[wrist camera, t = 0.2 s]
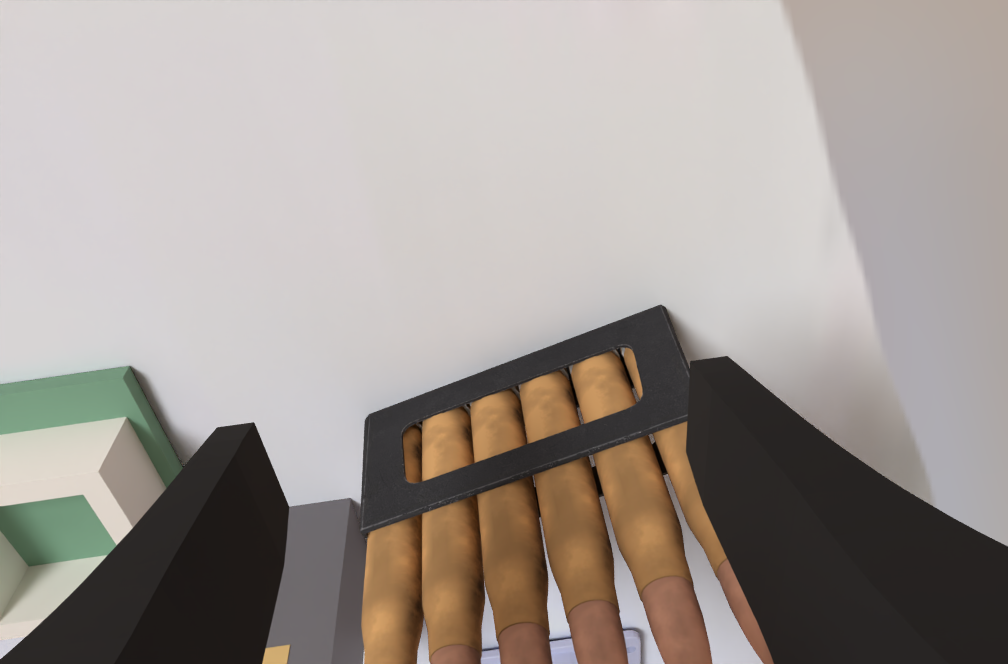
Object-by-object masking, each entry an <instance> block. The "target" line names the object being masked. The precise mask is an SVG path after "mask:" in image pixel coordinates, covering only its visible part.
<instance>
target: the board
mask: <svg viewBox="0 0 1008 664" xmlns="http://www.w3.org/2000/svg"><path fill="white" fill-rule="evenodd" d="M182 469H183V467H182V465H181V463H180V461H179V460H178V458H177V456H176V454H175V452H174V450H173V448H172V446H171V444H170V442H169V441H168V439H167V437H166V435H165V433H164V431H163V429H162V427H161V425H160V423H159V422H158V420H157V418H156V416H155V414H154V412H153V410H152V408H151V406H150V404H149V403H148V401H147V399H146V397H145V395H144V393H143V391H142V389H141V387H140V386H139V384H138V382H137V380H136V378H135V376H134V374H133V372H132V370H131V368H130V367H129V366H126V367H119V368H112V369H105V370H98V371H91V372H84V373H77V374H70V375H63V376H56V377H49V378H42V379H35V380H28V381H21V382H14V383H7V384H0V640H5V639H12V638H19V637H26V636H27V635H28V634H29V633H31V632H32V631H33V630H34V629H35V628H36V627H37V626H38V625H39V624H40V623H41V622H42V621H43V620H44V619H46V618H47V617H48V616H49V615H50V614H51V613H52V612H53V611H54V610H55V609H56V608H57V607H58V606H59V605H60V604H61V603H62V602H63V601H64V600H65V599H66V598H67V597H68V596H69V595H70V594H71V593H72V592H73V591H74V590H75V589H76V588H77V587H78V586H79V585H80V584H81V583H82V582H83V581H84V580H85V579H86V578H87V577H88V576H89V575H90V574H91V573H92V572H93V570H94V569H95V568H96V567H97V566H98V565H99V564H100V563H101V562H102V561H103V560H104V559H105V557H106V556H107V555H108V554H109V553H110V552H111V551H112V550H113V549H114V548H115V547H116V546H117V544H118V543H119V542H120V541H121V540H122V539H123V538H124V537H125V536H126V535H127V534H128V533H129V531H130V530H131V529H132V528H133V527H134V526H135V525H136V524H137V522H138V521H139V520H140V519H141V518H142V517H143V515H144V514H145V513H146V512H147V511H148V509H149V508H150V507H151V506H152V505H153V504H154V502H155V501H156V500H157V499H158V498H159V497H160V495H161V494H162V493H163V492H164V491H165V489H166V488H167V487H168V486H169V485H170V483H171V482H172V481H173V480H174V479H175V477H176V476H177V475H178V474H179V473H180V471H181V470H182Z"/></svg>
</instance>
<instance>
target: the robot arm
mask: <svg viewBox="0 0 1008 664" xmlns="http://www.w3.org/2000/svg"><path fill="white" fill-rule="evenodd" d="M686 454H687V457H688V460H689V464H690V467H691V470H692V473H693V477H694V480H695V483H696V486H697V489H698V492H699V495H700V498H701V501H702V504H703V507H704V509H705V511H706V513H707V516H708V518H709V520H710V522H711V524H712V527H713V529H714V531H715V533H716V535H717V537H718V540H719V542H720V544H721V546H722V548H723V550H724V553H725V555H726V557H727V559H728V561H729V563H730V565H731V568H732V570H733V572H734V574H735V576H736V578H737V580H738V582H739V585H740V587H741V589H742V591H743V593H744V595H745V597H746V600H747V602H748V604H749V606H750V608H751V610H752V612H753V615H754V617H755V619H756V621H757V623H758V625H759V628H760V630H761V633H762V635H763V637H764V640H765V642H766V645H767V647H768V649H769V652H770V654H771V657H772V660H773V663H774V664H1008V546H1005V545H1004V544H1001V543H1000V542H998V541H995V540H994V539H992V538H990V537H988V536H986V535H984V534H982V533H980V532H978V531H976V530H974V529H972V528H970V527H969V526H967V525H965V524H963V523H961V522H959V521H958V520H956V519H954V518H952V517H950V516H948V515H947V514H945V513H943V512H942V511H940V510H938V509H937V508H935V507H933V506H932V505H930V504H928V503H926V502H925V501H923V500H921V499H920V498H918V497H916V496H915V495H913V494H911V493H910V492H908V491H906V490H904V489H903V488H901V487H900V486H898V485H897V484H895V483H893V482H892V481H890V480H889V479H887V478H886V477H884V476H882V475H881V474H879V473H878V472H877V471H875V470H874V469H872V468H871V467H869V466H868V465H866V464H865V463H863V462H862V461H861V460H859V459H858V458H856V457H855V456H853V455H852V454H850V453H849V452H847V451H846V450H845V449H843V448H842V447H840V446H839V445H838V444H836V443H835V442H834V441H832V440H831V439H830V438H828V437H827V436H826V435H824V434H823V433H822V432H820V431H819V430H818V429H816V428H815V427H814V426H813V425H811V424H810V423H809V422H807V421H806V420H805V419H803V418H802V417H801V416H800V415H798V414H797V413H796V412H795V411H793V410H792V409H791V408H790V407H788V406H787V405H786V404H785V403H783V402H782V401H781V400H780V399H779V398H777V397H776V396H775V395H774V394H772V393H771V392H770V391H769V390H768V389H766V388H765V387H764V386H763V385H762V384H760V383H759V382H758V381H757V380H756V379H754V378H753V377H752V376H751V375H750V374H748V373H747V372H746V371H745V370H744V369H742V368H741V367H740V366H739V365H738V364H736V363H735V362H734V361H733V360H731V359H730V358H729V357H728V356H725V357H717V358H710V359H703V360H696V361H690V380H689V399H688V418H687V437H686ZM288 518H289V506H288V503H287V501H286V498H285V496H284V493H283V491H282V489H281V486H280V484H279V481H278V479H277V476H276V474H275V472H274V469H273V467H272V464H271V462H270V460H269V457H268V455H267V452H266V450H265V447H264V445H263V443H262V440H261V438H260V435H259V433H258V431H257V428H256V426H255V423H254V422H253V423H246V424H239V425H232V426H225V427H218V428H216V429H215V431H214V432H213V433H212V434H211V435H210V436H209V437H208V439H207V440H206V441H205V442H204V443H203V445H202V446H201V447H200V448H199V449H198V451H197V452H196V453H195V454H194V455H193V457H192V458H191V459H190V460H189V462H188V463H187V464H186V465H185V466H184V468H183V469H182V470H181V471H180V473H179V474H178V475H177V476H176V477H175V479H174V480H173V481H172V482H171V483H170V485H169V486H168V487H167V488H166V489H165V491H164V492H163V493H162V494H161V495H160V497H159V498H158V499H157V500H156V501H155V502H154V504H153V505H152V506H151V507H150V508H149V509H148V511H147V512H146V513H145V514H144V515H143V517H142V518H141V519H140V520H139V521H138V522H137V524H136V525H135V526H134V527H133V528H132V529H131V530H130V531H129V533H128V534H127V535H126V536H125V537H124V538H123V539H122V540H121V541H120V542H119V543H118V544H117V546H116V547H115V548H114V549H113V550H112V551H111V552H110V553H109V554H108V555H107V556H106V557H105V559H104V560H103V561H102V562H101V563H100V564H99V565H98V566H97V567H96V568H95V569H94V570H93V572H92V573H91V574H90V575H89V576H88V577H87V578H86V579H85V580H84V581H83V582H82V583H81V584H80V585H79V586H78V587H77V588H76V589H75V590H74V591H73V592H72V593H71V594H70V595H69V596H68V597H67V598H66V599H65V600H64V601H63V602H62V603H61V604H60V605H59V606H58V607H57V608H56V609H55V610H54V611H53V612H52V613H51V614H50V615H49V616H48V617H47V618H46V619H44V620H43V621H42V622H41V623H40V624H39V625H38V626H37V627H36V628H35V629H34V630H33V631H32V632H31V633H29V634H28V635H27V636H26V637H25V638H24V639H23V640H22V641H21V642H20V643H19V644H17V645H16V646H15V647H14V648H13V649H12V650H11V651H10V652H8V653H7V654H6V655H5V656H4V657H3V658H1V659H0V664H262V663H263V658H264V654H265V649H266V645H267V641H268V636H269V632H270V628H271V623H272V619H273V614H274V610H275V605H276V601H277V596H278V592H279V587H280V583H281V578H282V573H283V568H284V562H285V553H286V543H287V531H288ZM623 633H624V638H625V643H626V649H627V656H628V664H641V640H640V637H639V633H638V632H636V631H634V630H626V631H623ZM550 648H551V656H552V664H578V662H577V659H576V655H575V651H574V647H573V642H572V638H571V639H564V640H557V641H551V642H550ZM481 664H501V663H500V653H499V649H496V650H489V651H482V657H481Z"/></svg>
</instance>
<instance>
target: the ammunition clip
mask: <svg viewBox="0 0 1008 664" xmlns="http://www.w3.org/2000/svg"><path fill="white" fill-rule="evenodd" d="M689 380H690V368H689V366H688V363H687V361H686V358H685V356H684V353H683V351H682V348H681V346H680V343H679V341H678V338H677V336H676V333H675V331H674V328H673V326H672V323H671V321H670V318H669V316H668V313H667V311H666V308H665V307H664V306H662V305H658V306H656V307H653V308H650V309H648V310H645V311H642V312H640V313H637V314H634V315H632V316H629V317H626V318H624V319H621V320H618V321H616V322H613V323H610V324H608V325H605V326H602V327H600V328H597V329H594V330H592V331H589V332H587V333H584V334H581V335H579V336H576V337H573V338H571V339H568V340H565V341H563V342H560V343H557V344H555V345H552V346H549V347H547V348H544V349H541V350H539V351H536V352H533V353H531V354H528V355H525V356H523V357H520V358H517V359H515V360H512V361H509V362H507V363H504V364H501V365H499V366H496V367H493V368H491V369H488V370H486V371H483V372H480V373H478V374H475V375H472V376H470V377H467V378H464V379H462V380H459V381H456V382H454V383H451V384H448V385H446V386H443V387H440V388H438V389H435V390H432V391H430V392H427V393H424V394H422V395H419V396H416V397H414V398H411V399H408V400H406V401H403V402H400V403H398V404H395V405H392V406H390V407H387V408H385V409H382V410H379V411H377V412H374V413H371V414H369V415H368V417H367V418H366V420H365V428H364V450H363V472H362V494H361V517H360V533H361V534H362V536H363V537H364V538H368V540H367V553H366V566H365V579H364V591H363V604H362V622H361V627H362V636H363V644H364V651H365V661H364V664H417V650H418V646H419V642H420V637H421V632H422V627H423V618H424V617H425V621H426V626H427V630H428V644H429V661H430V663H431V664H481V657H482V633H481V626H482V619H483V612H484V605H485V587H486V590H487V594H488V597H489V600H490V604H491V607H492V610H493V615H494V623H495V630H496V638H497V641H498V644H499V653H500V663H501V664H552V656H551V648H550V641H549V635H550V630H549V621H548V611H547V597H548V571H547V565H546V558H545V552H544V546H543V539H542V533H541V527H540V520H539V517H541V519H542V525H543V531H544V537H545V542H546V548H547V554H548V559H549V563H550V567H551V571H552V573H553V576H554V579H555V581H556V583H557V586H558V588H559V591H560V593H561V597H562V601H563V606H564V610H565V614H566V618H567V622H568V624H569V627H570V632H571V638H572V642H573V647H574V651H575V655H576V659H577V662H578V664H628V656H627V649H626V643H625V638H624V633H623V629H622V624H621V620H620V616H619V613H620V610H619V605H618V600H617V595H616V590H615V585H614V558H613V553H612V548H611V543H610V539H609V535H608V531H607V527H606V523H605V519H604V515H603V511H602V507H601V503H600V499H599V497H601V496H604V497H605V501H606V505H607V508H608V512H609V516H610V519H611V523H612V526H613V530H614V534H615V537H616V541H617V544H618V547H619V550H620V552H621V554H622V556H623V558H624V560H625V562H626V563H627V565H628V567H629V569H630V571H631V573H632V576H633V579H634V582H635V585H636V588H637V591H638V594H639V597H640V600H641V601H642V602H643V605H644V608H645V612H646V615H647V618H648V622H649V625H650V628H651V631H652V634H653V636H654V639H655V641H656V644H657V646H658V649H659V651H660V654H661V656H662V659H663V661H664V663H665V664H712V658H711V651H710V645H709V641H708V636H707V632H706V627H705V623H704V619H703V615H702V612H701V609H700V606H699V603H698V600H697V597H696V594H695V591H694V585H693V580H692V577H691V574H690V570H689V567H688V564H687V561H686V557H685V551H684V543H683V535H682V529H681V525H680V522H679V519H678V516H677V513H676V511H675V508H674V505H673V502H672V500H671V497H670V494H669V491H668V488H667V486H666V483H665V480H664V477H663V475H666V474H668V475H669V478H670V480H671V483H672V486H673V488H674V491H675V493H676V496H677V498H678V501H679V504H680V506H681V509H682V511H683V514H684V517H685V519H686V522H687V524H688V526H689V528H690V529H691V531H692V533H693V534H694V536H695V537H696V539H697V540H698V542H699V543H700V545H701V546H702V548H703V549H704V551H705V553H706V555H707V558H708V560H709V562H710V564H711V567H712V569H713V571H714V573H715V575H716V577H717V578H718V580H719V581H720V584H721V586H722V589H723V591H724V594H725V596H726V598H727V601H728V603H729V606H730V608H731V610H732V612H733V614H734V616H735V618H736V619H737V621H738V623H739V625H740V627H741V629H742V631H743V633H744V634H745V636H746V638H747V639H748V641H749V643H750V644H751V646H752V647H753V649H754V650H755V652H756V654H757V655H758V656H759V658H760V659H761V660H762V662H763V663H764V664H774V663H773V660H772V657H771V654H770V652H769V649H768V647H767V645H766V642H765V640H764V637H763V635H762V633H761V630H760V628H759V625H758V623H757V621H756V619H755V617H754V615H753V612H752V610H751V608H750V606H749V604H748V602H747V600H746V597H745V595H744V593H743V591H742V589H741V587H740V585H739V582H738V580H737V578H736V576H735V574H734V572H733V570H732V568H731V565H730V563H729V561H728V559H727V557H726V555H725V553H724V550H723V548H722V546H721V544H720V542H719V540H718V537H717V535H716V533H715V531H714V529H713V527H712V524H711V522H710V520H709V518H708V516H707V513H706V511H705V509H704V507H703V504H702V501H701V498H700V495H699V492H698V489H697V486H696V483H695V480H694V477H693V473H692V470H691V467H690V464H689V460H688V457H687V454H686V437H687V418H688V399H689ZM632 388H635V390H636V392H637V395H638V397H639V401H638V402H636V400H635V397H634V394H633V391H632ZM578 407H580V410H581V414H582V418H583V421H584V424H582V425H581V424H580V420H579V416H578V412H577V408H578ZM525 428H526V431H525ZM526 433H527V437H526ZM649 434H653V436H654V439H655V442H654V443H653V444H651V441H650V438H649V436H648V435H649ZM527 439H528V444H527ZM592 454H593V457H594V461H595V465H596V466H594V467H591V463H590V460H589V455H592ZM533 475H534V479H535V485H536V487H534V482H533ZM483 570H484V572H483ZM484 581H485V587H484Z"/></svg>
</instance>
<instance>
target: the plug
mask: <svg viewBox="0 0 1008 664" xmlns="http://www.w3.org/2000/svg"><path fill="white" fill-rule="evenodd" d="M366 553H367V544H366V541H365V539H364V537H363V536H362V534H361V533H360V524H359V521H358V518H357V515H356V512H355V510H354V507H353V504H352V501H351V498H347V499H341V500H334V501H327V502H320V503H313V504H306V505H299V506H292V507H289V518H288V531H287V543H286V553H285V562H284V568H283V573H282V578H281V583H280V587H279V592H278V596H277V601H276V605H275V610H274V614H273V619H272V623H271V628H270V632H269V636H268V641H267V645H266V649H265V654H264V658H263V663H262V664H363V653H364V644H363V636H362V627H361V622H362V604H363V591H364V579H365V566H366Z"/></svg>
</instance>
